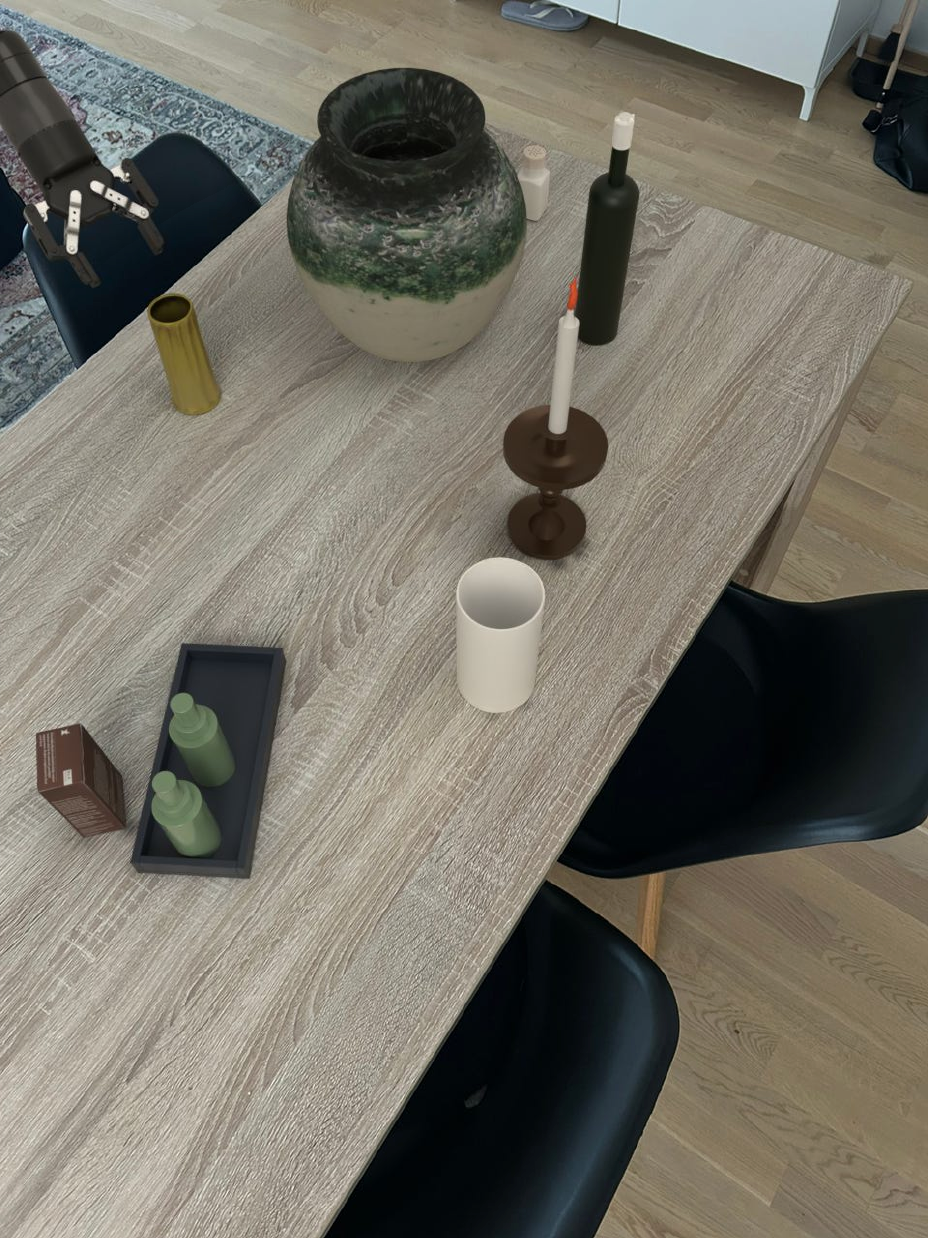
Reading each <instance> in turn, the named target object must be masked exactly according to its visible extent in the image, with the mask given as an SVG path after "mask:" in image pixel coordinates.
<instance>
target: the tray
mask: <svg viewBox="0 0 928 1238" xmlns="http://www.w3.org/2000/svg"><path fill="white" fill-rule="evenodd" d="M286 659H287V658H286V655H285V651H284V648H283V647H274V646H273V647H271V646H254V645H253V646H251V645H250V646H249V645H233V644H231V645H230V644H229V645H228V644H212V643H209V644H208V643H191V642H190V643H188V642H187V643H185V642H182V643H181V644H180V649H179V652H178V656H177V660H176V661H177V662H176V665H175V669H174V674H173V678H172V682H171V686H170V691H169V695H168V699H167V703H166V708H165V713H164V717H163V720H162V725H161V730H160V734H159V737H158V738H159V739H158V741H157V747H156V751H155V755H154V758H153V764H152V768H151V772H150V777H149V780H148V783H147V789H146V793H145V798H144V801H143V805H142V806H143V807H142V810H141V815H140V818H139V824H138V828H137V833H136V835H135V841H134V845H133V849H132V853H131V858H130V861H129V862H130V865H131V866H132V867H133V869H135V871H136V873H138V874H151V875H152V874H154V875H172V876H189V877H205V878H206V877H208V878H227V879H242V880H243V879H245V880H249V879H251V873H252V868H253V860H254V856H255V849H256V843H257V838H258V832H259V827H260V819H261V814H262V808H263V802H264V797H265V791H266V785H267V778H268V774H269V773H268V772H269V766H270V761H271V755H272V749H273V745H274V744H273V742H274V737H275V733H276V732H275V731H276V725H277V721H278V720H277V719H278V713H279V709H280V703H281V697H282V696H281V695H282V689H283V686H284V685H283V684H284V678H285V673H286V667H287V660H286ZM179 693H187V694H189V695H191V696H192V698H193V700H194V702H195V704H197V705H202V706H205V707H208V708H209V709H211V710H212V711H213V712H214V714H215V715H216V717H217V719H218V722H219V724H220V726H221V729H222V731H223V733H224V735H225V738H226V740H227V742H228V744H229V747H230V749H231V751H232V754H233V756H234V758H235V770H234V773H233V775H232V776H231V777H230V779H229V780H228V781H226V782H225V783H224V784H222V785H219V786H216V787H204V786H201V785H199V784H198V783H197V782H196V781H195V780H194V779H193V777H192V776H191V774H190V772H189V770H188V768H187V766H186V764H185V763H184V761H183V759H182V757H181V755H180V753H179V752H178V750H177V748H176V746H175V744H174V742H173V740H172V739H171V737H170V734H169V725H170V722H171V720H172V718H173V716H174V712H173V710H172V708H171V705H170V704H171V700H172V698H173V697H174V696H175V695H177V694H179ZM162 771H169V772H171V773H173V774H174V775H175V777H176V779H177V780H185V781H189V782H191V783H193V784H194V785H196V786H197V787H198V789H199V790H200V792H201V794H202V796H203V798H204V799H205V801H206V803H207V805H208V807H209V809H210V811H211V812H212V814H213V816H214V818H215V820H216V822H217V824H218V825H219V827H220V829H221V833H222V839H221V844H220V846H219V848H218V850H217V851H216V852H215V853H214V854H213V855H212V856H211V857H209V858H207V859H197V858H182V857H181V856H180V855H179V854H178V852H177V851H176V849H175V848H174V846H173V845H172V843H171V842H170V840H169V839H168V837H167V836H166V834H165V833H164V831H163V830H162V828H161V827H160V825H159V824H158V822H157V821H156V819H155V818H154V816H153V814H152V809H151V805H152V800H153V798H154V795H155V794H156V792H155V791H154V789H153V787H152V780H153V778H154V777H155V775H157V774H158V773H160V772H162Z"/></svg>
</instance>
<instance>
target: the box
mask: <svg viewBox="0 0 928 1238" xmlns="http://www.w3.org/2000/svg"><path fill="white" fill-rule="evenodd" d="M35 759H36V760H35V761H36V788H37V789H36V791H37V793H38V794H39V795H40V796H41V797H42V798H43V799H44V800H45V801H46V802H48V803H49V804H50V806H51V807H52V808H54V810H56V811H57V813H58V814H59V815H60V816H61V817H63V819H64V820H65V821H66V822H67V823H68V825H70V826H71V827H72V828H73V829H74V830H75V832H77V833H78V834H79V835H80V836H81V837H82V838H84V839H85V838H88V837H93V836H99V835H103V834H107V833H111V832H116V831H120V830H124V829H126V813H125V812H126V811H125V797H124V785H123V775H122V774H121V772H120V771H119V770H118V768H117V767H116V766H115V764H114V763H113V762H112V761H111V760H110V759H111V758H109V757H108V756H107V754H106V753H105V751H104V750H103V749H102V748H101V747H100V745H99V744H98V743H97V742H96V740H95V739H94V738H93V736H92V735H91V733H90V732H89V731H88V730H87V728H86V727H85V726H84V725H83V723H81V722H78V723H75V724H70V725H67V726H62V727H61V726H60V727H57V728H52V729H48V730H43V731H39V732H36V733H35Z"/></svg>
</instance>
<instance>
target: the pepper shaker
mask: <svg viewBox="0 0 928 1238" xmlns="http://www.w3.org/2000/svg"><path fill="white" fill-rule="evenodd" d="M546 162H547V150H546V149H545V148H544V147H543V146H541V145H535V144H532V145H527V146H526V147H525V148H524V149H523V152H522V163H521V166H522V167H521V168H520V169H519V171H518V172H517V177H518V179H519V182H520V185H521V188H522V192H523V196H524V201H525V205H526V216H527V220H530V221H533V222H538V221H540V219H541V218H542V217H543V215H544V213H545V212H546V210H547V208H548V207H549V194H550V183H551V182H550V181H551V171H550V170H549V169H548V168H546V166H547V165H546V164H547V163H546Z"/></svg>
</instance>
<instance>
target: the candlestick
mask: <svg viewBox="0 0 928 1238" xmlns="http://www.w3.org/2000/svg"><path fill="white" fill-rule="evenodd" d="M577 282H578V276H575V277H574V280H573V281H572V282H571V283H570V284H569V285H568V286H569V290H570V293H569V294H568V300H567V302H566V306H567V310H566V314H565V315H563V316H562V317H560V318H559V321H558V324H557V325H558V326H557V336H556V345H555V355H554V356H555V357H554V365H553V376H552V386H551V396H550V404H543V405H538V406H535V407H531V408H528V409H526V410H525V411H523V412H520V413H519V414H518V415H516V416H515V417H514V418H513V419H512V420H511V421H510V423H509V424H508V425H507V427H506V429H505V431H504V435H503V439H502V441H503V442H502V455H503V458H504V461H505V463H506V465H507V467H508V468H509V470H510V472H512V473H513V474H514V475H515V477H517V478H519V480H522V482H524V483H526V484H528V485H530V486H533V487H536V488H538V491H539V492H536V493H532V494H529V495H526V496H524V497H522V498H521V499H520V500H518V501H516V503H515V504H513V506H512V507H511V509H510V510H509V513H508V515H507V521H506V532H507V535H508V538H509V540H510V542H511V544H512V545H513V546H514V547H515V548H516V549H517V550H518V551H519V552H520V553H522V554H524V555H525V556H527V557H529V558H533V559H536V560H541V561H554V560H560V559H563V558H567V557H568V556H570V555H572V554H573V553H574V552H576V551H577V550H578V549H579V548H580V547H581V546H582V544H583V543H584V540H585V539H586V538H585V537H586V532H587V520H586V516H585V513H584V512H583V510H582V509H581V507H580V506H579V505H578V504H577V503H576V502H574V501H573V500H572V499H571V498H569V497H566V496H564V495H562V493H563V491H567V490H572V489H573V490H574V489H576V488H579V487H582V486H585V485H586V484H587V483H590V482H591V481H592V480H594V479H595V478H596V477H598V476H599V475H600V473H601V472H602V471H603V469H604V467H605V464H606V463H607V459H608V452H609V440H608V439H609V438H608V436H607V434H606V431H605V429H604V428H603V426H602V424H601V423H599V421H598V420H597V419H596V418H595V417H593V416H592V415H590V414H589V413H587V412H585V411H583V410H581V409H579V408H576V407H573V406H570V404H571V395H572V390H573V389H572V388H573V379H574V370H575V363H576V355H577V348H578V347H577V345H578V340H579V339H578V331H579V320H578V319H577V318H576V317H575V312H574V311H575V310H574V309H575V308H576V302H577V296H578V287H577Z"/></svg>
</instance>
